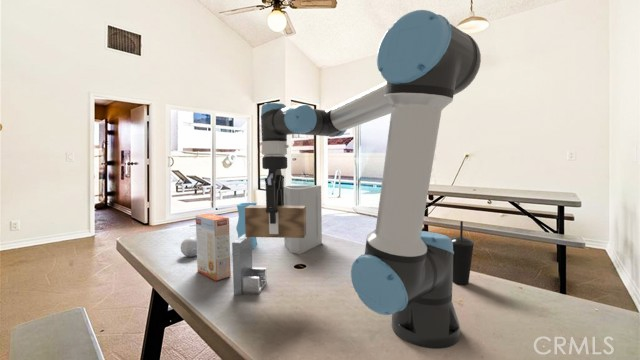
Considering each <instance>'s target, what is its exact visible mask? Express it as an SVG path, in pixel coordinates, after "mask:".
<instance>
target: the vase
mask: <svg viewBox="0 0 640 360" xmlns="http://www.w3.org/2000/svg"><path fill="white" fill-rule="evenodd" d="M249 205H258V204H257V202H240V203H238V204H236V208H237V213H238V221H237V223H236V224H237V225H236V234H237V239H238V238H239V237H241V236H242V235H244V234H245V207H247V206H249ZM257 245H258V240H257V237H252V249H255V248H256V247H257Z"/></svg>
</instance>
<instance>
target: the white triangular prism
mask: <svg viewBox="0 0 640 360" xmlns="http://www.w3.org/2000/svg"><path fill="white" fill-rule="evenodd" d="M284 206H306V235H305V237H304V238H284V239H283V240H284V246H285V247H286V248H287V249H288V251H289V252H291V253H293V254H299V255H301V254H303V253H305V252H307V251H309V250H311V249H313V248H315V247H318V246H319V245H321V244H323V241H322V240H323V234H322V232H323V229H322V224H323V223H322V219H323V217H322V185H321V184H319V185H318V184H316V185H315V184H309V185H303V184H302V185H301V184H300V185H284Z"/></svg>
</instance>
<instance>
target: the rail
mask: <svg viewBox="0 0 640 360" xmlns="http://www.w3.org/2000/svg"><path fill="white" fill-rule="evenodd" d="M271 208H272V207H271ZM277 212H278V223H279V234H269V213H266V204H265V205H258V204H256V205H249V206H247V207H245V235H246V237H256V238H304V237H305V235H306V206H277Z"/></svg>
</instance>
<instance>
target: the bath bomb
mask: <svg viewBox="0 0 640 360" xmlns="http://www.w3.org/2000/svg"><path fill="white" fill-rule="evenodd" d="M180 252H181V253H182V255H184V257H190V258H191V257H194V256H197V239H196V237H187V238H185V239H184V240H183V241H182V242H181V245H180Z"/></svg>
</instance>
